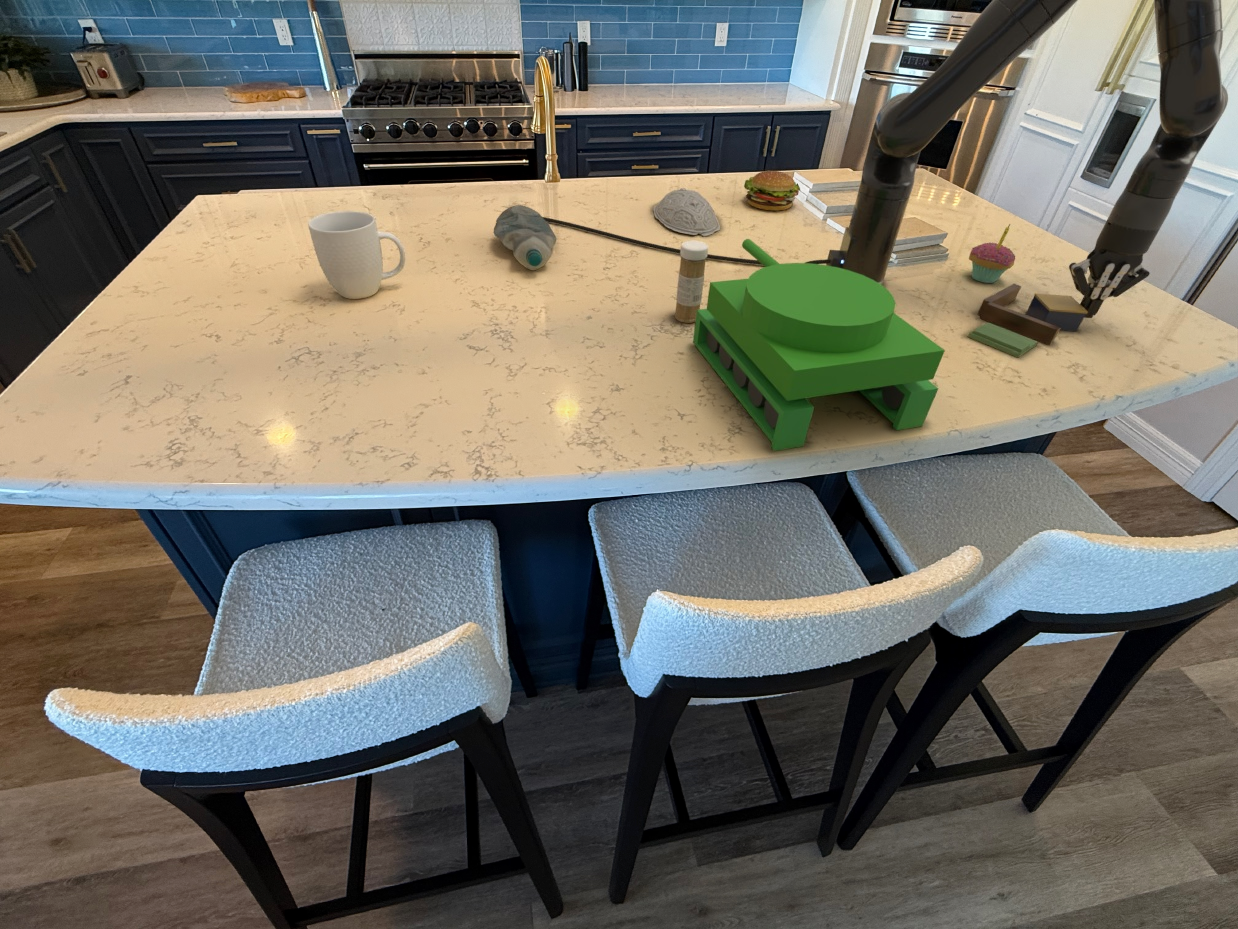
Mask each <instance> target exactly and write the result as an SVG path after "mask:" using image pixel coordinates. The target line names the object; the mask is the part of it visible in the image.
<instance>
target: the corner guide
mask: <svg viewBox="0 0 1238 929" xmlns="http://www.w3.org/2000/svg"><path fill="white" fill-rule="evenodd" d="M1021 288H1022V285H1019V284H1017V283H1013V284H1010V285H1008V286H1007V287H1005V288H1003V289H1001V290H999V291H998V292H995V293H993V294H992V295H990V296H988V297H986V298H984V299H982V302H981V305H980V307H979V309H978V312H977V315H978V316H980V320H983V321H984V322H985V321H986V322H988V323H991V324H994V325H996V326H999V327H1001V328H1004V329H1006V330H1009V331H1012V332H1014V333H1017V334H1019V335H1022V336H1025V337H1027V338H1030V339H1032V340H1035V341H1037V342H1040V343H1042V344H1045V345H1047V346H1051V345H1052V344H1054V342H1055V340H1056V338H1057V336H1058V334H1059V332H1060V331H1061V330H1060V329H1061V328H1060V327H1058V326H1055V325H1052V324H1049V323H1047V322H1044V321H1041V320H1039V319H1036V318H1033V317H1030V316H1028V315H1027V314H1026V313H1022V312H1019V311H1016V310H1014V309H1012V308H1008V307H1007V306H1008V305H1009V304H1011V303H1014V302H1015V301H1016V300H1017V297H1018V295H1019V293H1020V291H1021Z"/></svg>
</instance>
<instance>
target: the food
mask: <svg viewBox="0 0 1238 929" xmlns="http://www.w3.org/2000/svg"><path fill="white" fill-rule="evenodd" d="M743 184H744V185H743V187H744V189H745V190H747V191H746V193H747V194H746V195H745V198H746V201H747V203H748V204H749V205H750V206H752V207H754V208H756V209H760V210H764V211H773V212H776V211H785V210H787V209H790V208H791V207H792V206H793V202H794V201H795V198H796V197H797V196H798V195H799V193H800V192H799V191H801V187H800V185H799V184H798V183H797V182H796V181H795V180H794V178H793V177H792V176H791V175H789V174H788V173H785V172H784V171H780V170H765V171H764V170H763V171H761V172H758V173H757V174H755V175H754V176H750V177H749V179H746V180H744V183H743Z"/></svg>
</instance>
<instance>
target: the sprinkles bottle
mask: <svg viewBox="0 0 1238 929" xmlns="http://www.w3.org/2000/svg"><path fill="white" fill-rule="evenodd" d="M707 254H709V245H708V244H707V243H705V242H704V241H701V240H686V241H684V242H682V243H681V245H680V253H679V255H680V263H679V272H678V278H677V279H678V280H677V288H676V304H675V313H674V318H675V320H677V321H679V322H680V323H683V324H684V323H685V324H693V323H695V321H696V313H697V310H700V309H701V304H702V298H703V290H704V281H705V272H706V271H705V270H706V262H707V259H708V258H707Z"/></svg>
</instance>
